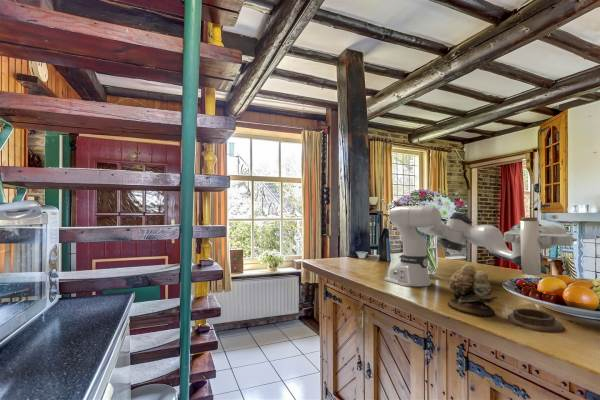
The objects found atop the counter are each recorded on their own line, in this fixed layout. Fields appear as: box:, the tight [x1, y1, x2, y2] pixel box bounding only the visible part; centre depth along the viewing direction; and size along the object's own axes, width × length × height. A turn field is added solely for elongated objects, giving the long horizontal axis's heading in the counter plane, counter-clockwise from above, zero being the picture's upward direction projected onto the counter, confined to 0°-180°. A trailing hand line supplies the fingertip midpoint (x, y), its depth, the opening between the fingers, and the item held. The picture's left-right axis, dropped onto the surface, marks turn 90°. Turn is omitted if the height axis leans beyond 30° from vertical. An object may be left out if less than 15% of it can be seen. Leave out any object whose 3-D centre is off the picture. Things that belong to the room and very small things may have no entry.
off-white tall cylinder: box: [519, 216, 542, 277], centre depth 108 cm, size 6×6×20 cm
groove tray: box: [507, 307, 563, 333], centre depth 98 cm, size 14×14×3 cm
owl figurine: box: [447, 263, 498, 318], centre depth 111 cm, size 18×12×17 cm, turn 25°
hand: (528, 240), depth 108 cm, fingers closed on off-white tall cylinder, 5 cm apart
